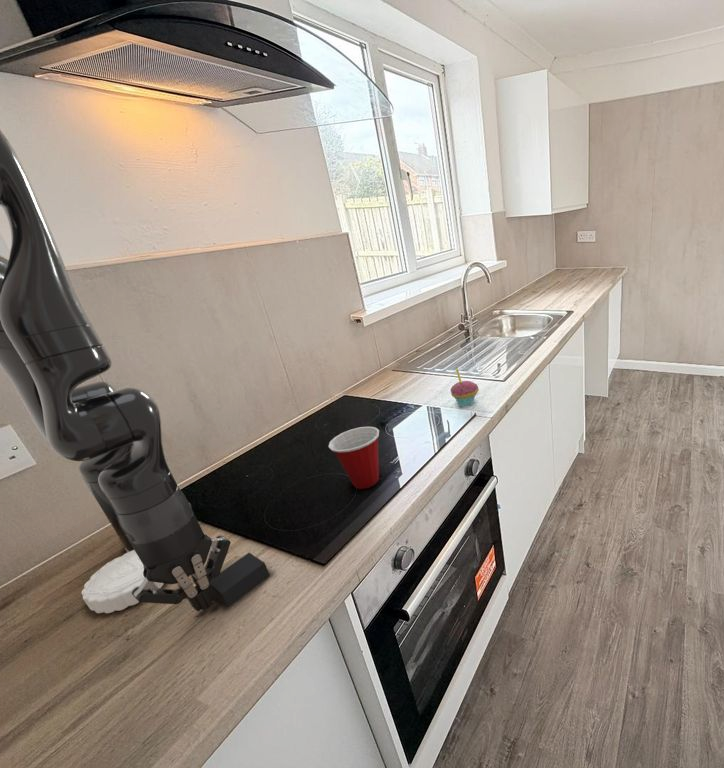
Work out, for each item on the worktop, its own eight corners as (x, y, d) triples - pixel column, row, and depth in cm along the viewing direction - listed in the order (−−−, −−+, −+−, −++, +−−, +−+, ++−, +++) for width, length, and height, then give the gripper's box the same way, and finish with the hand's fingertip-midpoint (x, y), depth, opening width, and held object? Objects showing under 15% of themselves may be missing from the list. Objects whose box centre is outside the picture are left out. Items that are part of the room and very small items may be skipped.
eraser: (213, 594, 69) (206, 581, 68) (254, 564, 75) (249, 552, 73) (228, 607, 67) (221, 593, 66) (270, 575, 72) (264, 562, 71)
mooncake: (174, 546, 80) (166, 532, 79) (179, 583, 72) (171, 568, 71) (91, 583, 73) (81, 569, 72) (87, 629, 65) (75, 613, 64)
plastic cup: (372, 462, 102) (362, 419, 98) (399, 476, 96) (389, 432, 91) (332, 485, 95) (318, 440, 90) (357, 502, 88) (344, 455, 84)
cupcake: (447, 407, 127) (441, 371, 122) (462, 395, 134) (457, 361, 129) (470, 411, 123) (465, 374, 119) (485, 399, 130) (481, 364, 125)
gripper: (199, 488, 66) (236, 567, 73) (92, 544, 56) (147, 630, 63) (222, 502, 63) (259, 584, 69) (112, 565, 52) (168, 653, 59)
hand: (205, 606), depth 66 cm, fingers closed
